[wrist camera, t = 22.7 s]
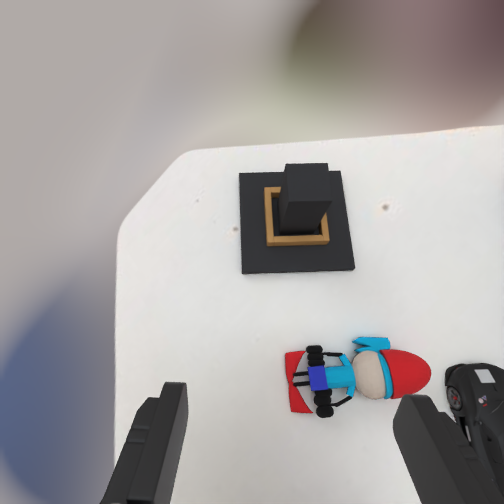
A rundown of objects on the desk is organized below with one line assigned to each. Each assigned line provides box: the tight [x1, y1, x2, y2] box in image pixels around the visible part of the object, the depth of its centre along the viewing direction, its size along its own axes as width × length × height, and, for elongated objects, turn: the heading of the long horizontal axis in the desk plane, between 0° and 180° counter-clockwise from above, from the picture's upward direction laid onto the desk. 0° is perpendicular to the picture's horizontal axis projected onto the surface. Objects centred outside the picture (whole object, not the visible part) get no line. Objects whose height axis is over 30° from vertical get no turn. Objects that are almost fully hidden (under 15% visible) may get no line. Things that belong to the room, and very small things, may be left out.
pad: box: [239, 171, 355, 274], centre depth 39 cm, size 14×14×2 cm
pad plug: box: [277, 163, 332, 235], centre depth 35 cm, size 4×4×9 cm
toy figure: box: [285, 337, 431, 418], centre depth 32 cm, size 8×5×15 cm
